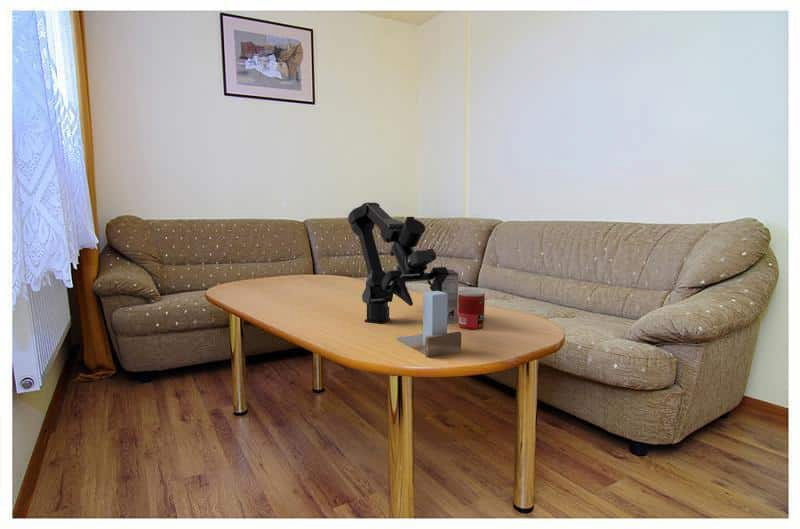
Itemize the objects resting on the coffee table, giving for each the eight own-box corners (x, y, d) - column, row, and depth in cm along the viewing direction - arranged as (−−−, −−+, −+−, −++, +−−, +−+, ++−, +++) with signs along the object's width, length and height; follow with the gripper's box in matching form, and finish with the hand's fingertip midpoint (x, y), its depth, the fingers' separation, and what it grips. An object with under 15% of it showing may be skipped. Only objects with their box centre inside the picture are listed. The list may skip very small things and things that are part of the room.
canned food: (483, 330, 140) (484, 294, 139) (456, 329, 142) (457, 293, 141) (484, 324, 148) (485, 290, 146) (458, 323, 149) (459, 289, 148)
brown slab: (410, 348, 123) (410, 329, 123) (442, 342, 128) (442, 325, 127) (427, 357, 116) (428, 337, 115) (461, 351, 120) (461, 332, 120)
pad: (396, 339, 132) (396, 337, 131) (423, 335, 136) (423, 333, 136) (412, 347, 124) (412, 346, 124) (440, 343, 128) (440, 341, 128)
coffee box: (433, 316, 158) (434, 269, 156) (452, 316, 159) (453, 269, 157) (438, 323, 149) (438, 273, 147) (458, 322, 150) (458, 272, 148)
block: (422, 348, 123) (423, 292, 121) (437, 346, 125) (437, 290, 123) (432, 353, 119) (432, 295, 117) (446, 350, 121) (447, 293, 119)
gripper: (385, 240, 123) (406, 288, 114) (445, 237, 131) (468, 282, 123) (373, 267, 130) (391, 313, 122) (430, 263, 139) (451, 306, 131)
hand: (426, 303), depth 124 cm, fingers open, 9 cm apart
